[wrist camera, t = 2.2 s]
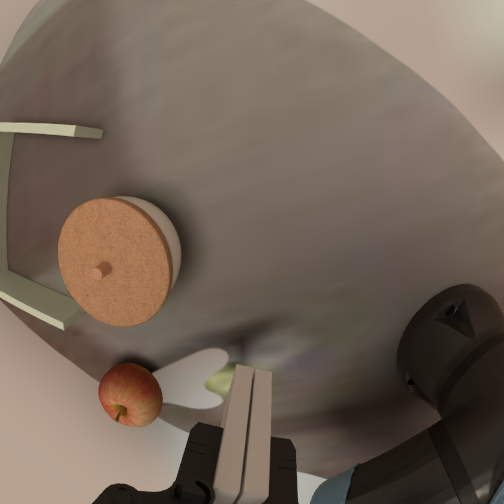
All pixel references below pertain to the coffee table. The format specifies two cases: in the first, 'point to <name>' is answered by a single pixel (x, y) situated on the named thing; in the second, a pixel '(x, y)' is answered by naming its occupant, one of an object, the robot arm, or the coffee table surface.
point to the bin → (4, 281)
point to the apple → (131, 395)
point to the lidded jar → (119, 258)
